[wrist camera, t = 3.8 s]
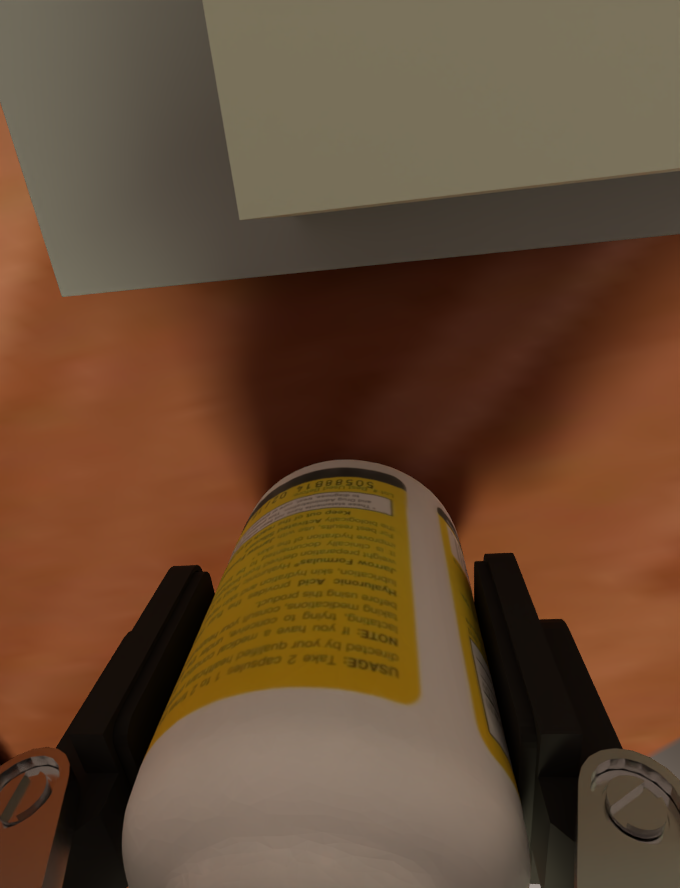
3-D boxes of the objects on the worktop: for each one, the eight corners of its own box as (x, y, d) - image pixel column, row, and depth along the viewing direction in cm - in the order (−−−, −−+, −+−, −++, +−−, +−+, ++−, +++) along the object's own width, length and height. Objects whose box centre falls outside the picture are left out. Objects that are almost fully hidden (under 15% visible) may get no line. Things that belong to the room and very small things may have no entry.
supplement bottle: (206, 556, 14) (-140, 1218, 5) (334, 408, 12) (171, 1055, 3) (364, 661, 15) (335, 1366, 6) (505, 542, 13) (801, 1323, 4)
